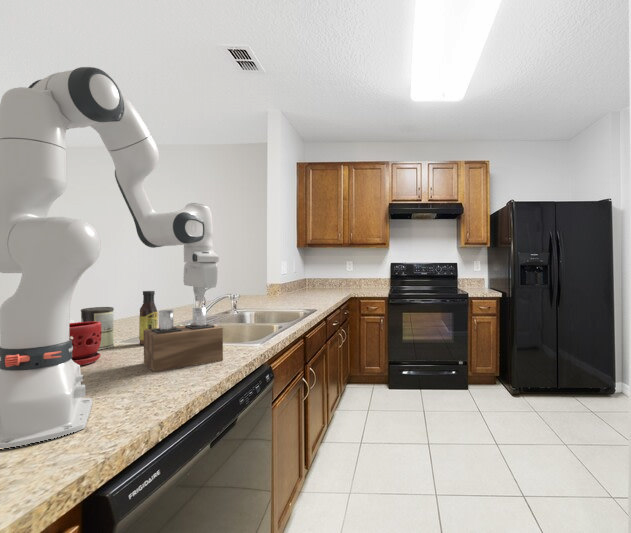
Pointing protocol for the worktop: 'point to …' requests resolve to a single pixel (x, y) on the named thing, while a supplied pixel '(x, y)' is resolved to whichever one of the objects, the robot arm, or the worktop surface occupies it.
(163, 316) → the near peg
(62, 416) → the robot arm
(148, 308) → the sauce bottle
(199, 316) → the far peg
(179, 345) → the socket block
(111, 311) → the coffee can
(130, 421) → the worktop surface
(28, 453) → the worktop surface
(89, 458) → the worktop surface
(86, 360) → the plant pot
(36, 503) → the worktop surface
